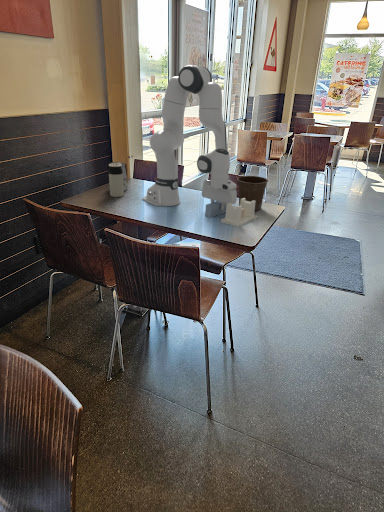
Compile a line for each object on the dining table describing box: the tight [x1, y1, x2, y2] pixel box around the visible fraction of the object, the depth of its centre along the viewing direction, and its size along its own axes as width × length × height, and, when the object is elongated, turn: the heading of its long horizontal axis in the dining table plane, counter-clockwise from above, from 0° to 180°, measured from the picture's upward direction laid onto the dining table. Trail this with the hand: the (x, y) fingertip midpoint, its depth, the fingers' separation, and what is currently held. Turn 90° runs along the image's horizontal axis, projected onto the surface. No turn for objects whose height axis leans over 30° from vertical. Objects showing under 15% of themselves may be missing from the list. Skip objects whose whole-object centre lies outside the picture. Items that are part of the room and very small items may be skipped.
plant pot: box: [236, 175, 269, 212], centre depth 188 cm, size 16×16×16 cm
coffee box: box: [110, 161, 129, 191], centre depth 214 cm, size 9×6×16 cm
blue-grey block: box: [204, 201, 227, 218], centre depth 180 cm, size 4×16×6 cm, turn 139°
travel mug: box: [107, 163, 125, 198], centre depth 201 cm, size 8×8×18 cm
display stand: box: [220, 198, 259, 228], centre depth 171 cm, size 10×18×9 cm, turn 139°
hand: (217, 208), depth 180 cm, fingers closed on blue-grey block, 3 cm apart
